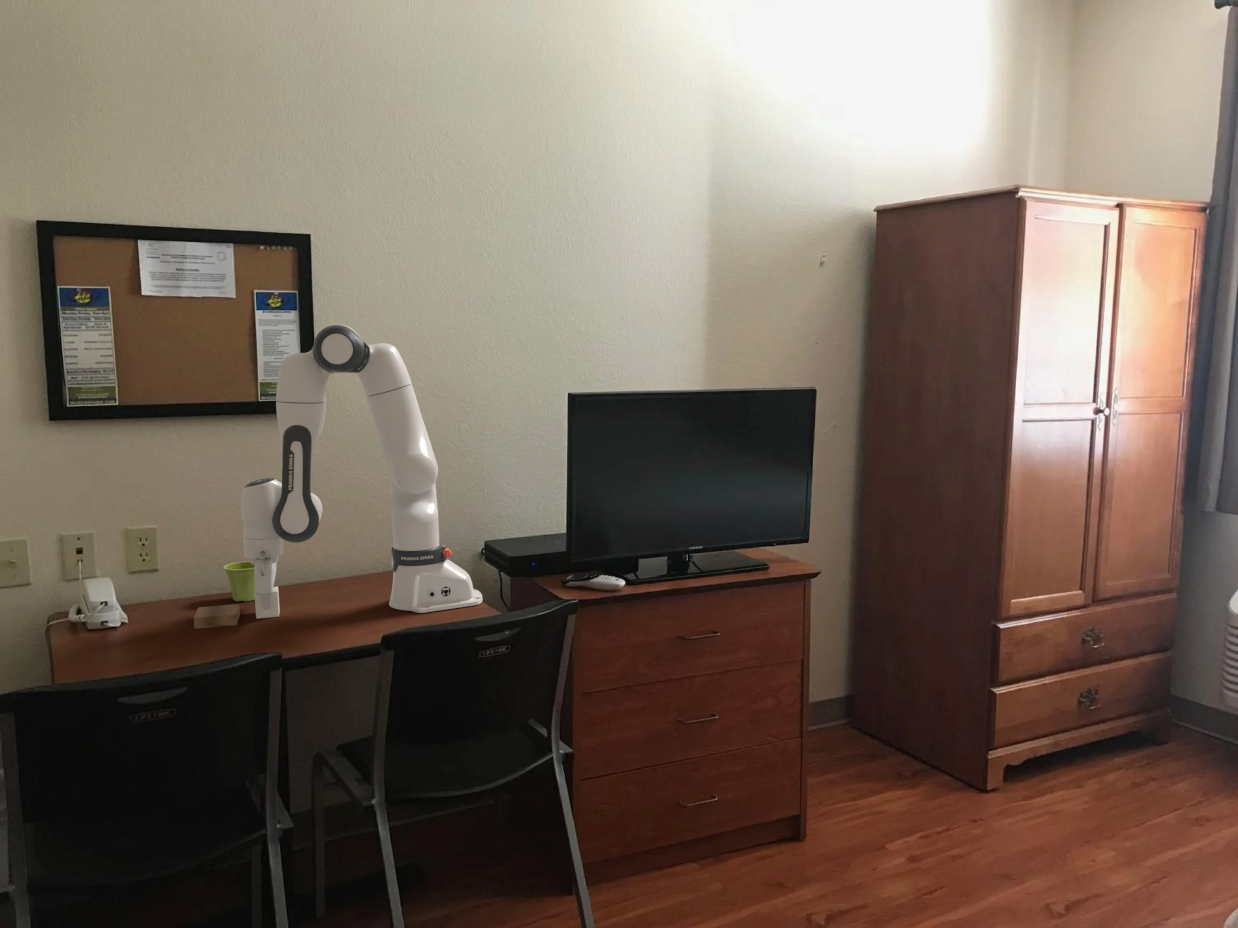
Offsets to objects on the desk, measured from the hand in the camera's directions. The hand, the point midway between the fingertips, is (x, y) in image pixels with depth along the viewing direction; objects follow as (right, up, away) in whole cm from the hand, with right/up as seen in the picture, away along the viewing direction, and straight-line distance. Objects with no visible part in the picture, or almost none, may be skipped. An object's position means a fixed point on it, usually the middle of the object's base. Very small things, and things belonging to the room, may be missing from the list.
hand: (267, 605), depth 240 cm
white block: (0, -2, 0) cm, 2 cm away
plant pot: (-11, -1, +15) cm, 18 cm away
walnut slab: (-10, -4, -5) cm, 12 cm away
